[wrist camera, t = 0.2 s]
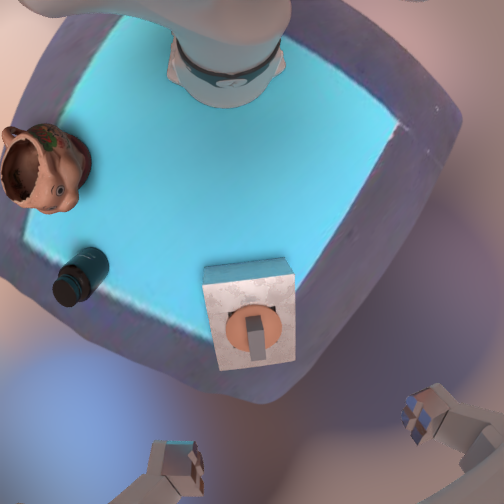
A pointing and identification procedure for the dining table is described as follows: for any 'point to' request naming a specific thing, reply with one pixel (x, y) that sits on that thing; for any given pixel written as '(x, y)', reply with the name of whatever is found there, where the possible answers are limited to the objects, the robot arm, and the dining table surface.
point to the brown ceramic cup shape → (44, 168)
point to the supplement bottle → (80, 277)
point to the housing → (250, 293)
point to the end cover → (254, 330)
